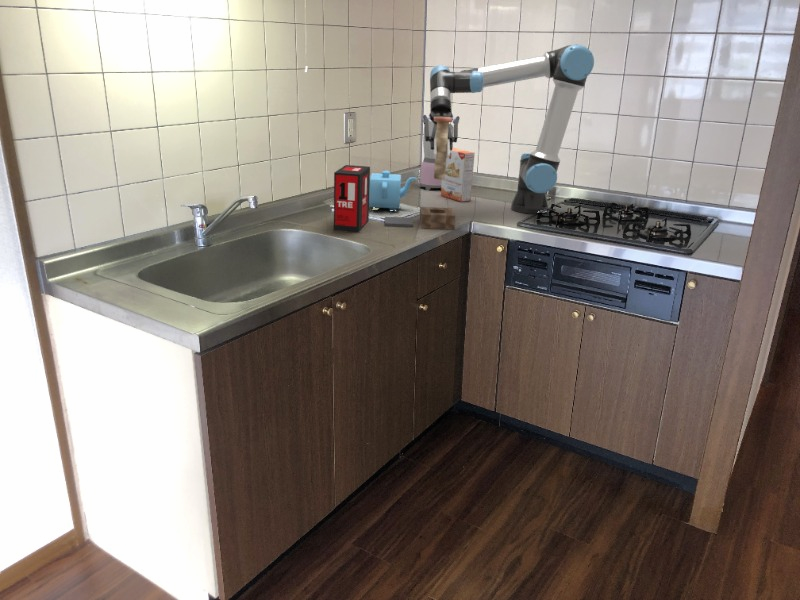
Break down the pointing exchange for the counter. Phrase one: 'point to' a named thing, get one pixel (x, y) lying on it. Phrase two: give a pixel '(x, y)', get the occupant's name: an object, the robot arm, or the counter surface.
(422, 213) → the eye block
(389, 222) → the rubber mat
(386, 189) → the teakettle
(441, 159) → the wheel peg
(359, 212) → the cleaning product box
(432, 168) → the blender
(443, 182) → the cracker box
